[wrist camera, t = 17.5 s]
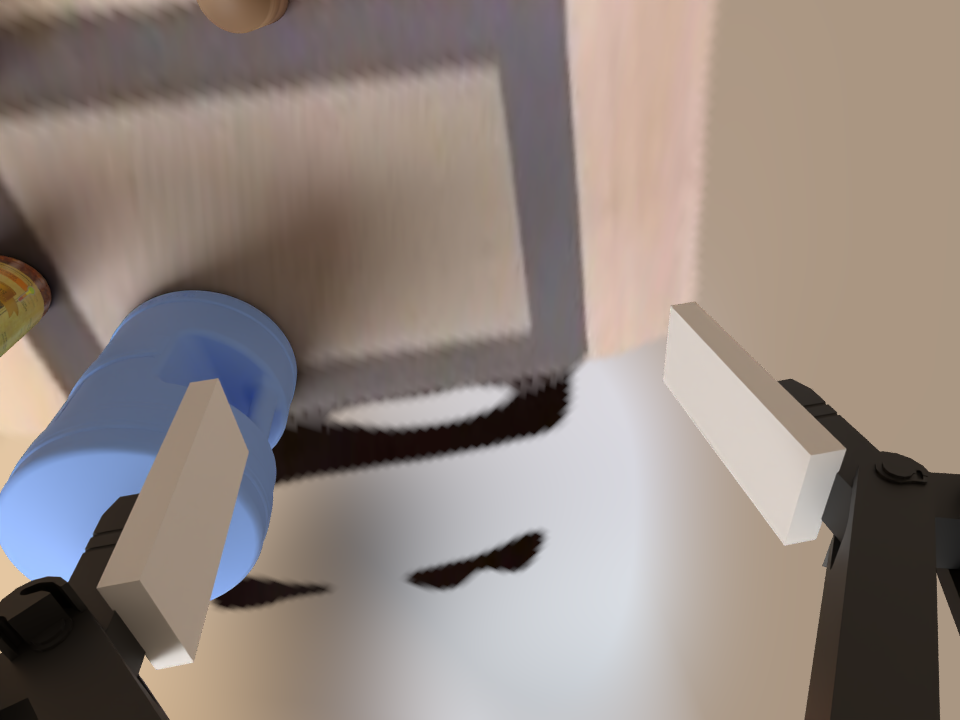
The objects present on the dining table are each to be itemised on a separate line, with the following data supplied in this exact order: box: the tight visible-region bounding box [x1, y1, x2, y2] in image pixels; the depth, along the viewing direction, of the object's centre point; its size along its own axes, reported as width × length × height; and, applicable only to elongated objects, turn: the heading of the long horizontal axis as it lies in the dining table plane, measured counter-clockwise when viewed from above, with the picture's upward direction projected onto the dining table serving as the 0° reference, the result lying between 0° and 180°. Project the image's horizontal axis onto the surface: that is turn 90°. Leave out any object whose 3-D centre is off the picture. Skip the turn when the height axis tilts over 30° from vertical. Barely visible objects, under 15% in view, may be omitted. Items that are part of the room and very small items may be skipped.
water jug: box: [0, 290, 297, 600], centre depth 43 cm, size 16×16×28 cm
